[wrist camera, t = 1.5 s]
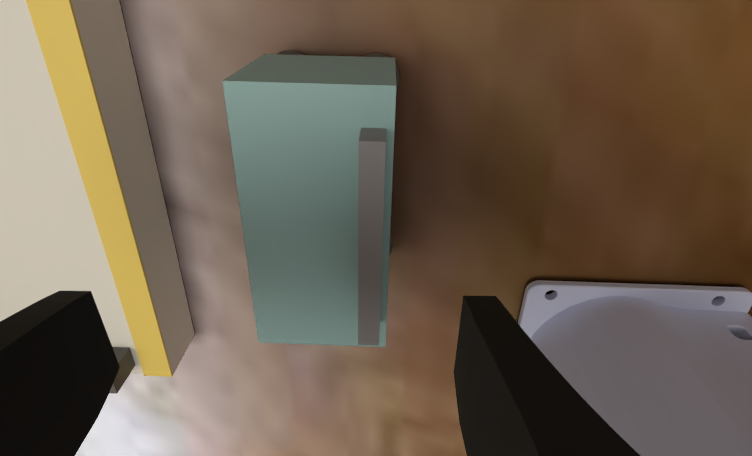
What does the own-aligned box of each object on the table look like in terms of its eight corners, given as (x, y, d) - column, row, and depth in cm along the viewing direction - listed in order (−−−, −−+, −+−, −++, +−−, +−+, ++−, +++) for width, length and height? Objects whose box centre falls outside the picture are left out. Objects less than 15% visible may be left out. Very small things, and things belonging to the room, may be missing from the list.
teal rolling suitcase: (400, 50, 15) (406, 96, 10) (391, 252, 19) (391, 371, 13) (270, 46, 15) (197, 90, 10) (287, 248, 19) (243, 365, 14)
